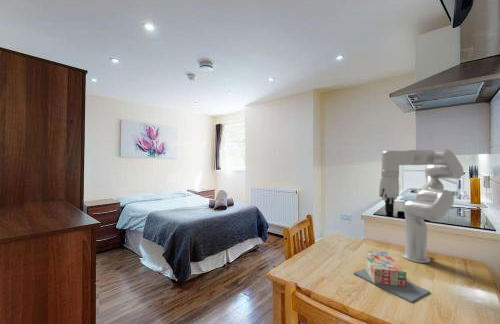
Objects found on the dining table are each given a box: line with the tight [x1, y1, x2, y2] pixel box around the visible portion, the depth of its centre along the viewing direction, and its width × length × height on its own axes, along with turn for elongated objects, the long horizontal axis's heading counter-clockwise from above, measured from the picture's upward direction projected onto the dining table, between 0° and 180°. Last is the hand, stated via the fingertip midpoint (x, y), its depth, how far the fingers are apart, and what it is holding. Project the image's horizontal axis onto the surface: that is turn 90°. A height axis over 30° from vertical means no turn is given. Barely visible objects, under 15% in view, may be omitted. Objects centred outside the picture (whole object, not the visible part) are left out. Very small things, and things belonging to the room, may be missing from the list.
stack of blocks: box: [364, 250, 407, 287], centre depth 105 cm, size 21×6×12 cm
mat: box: [353, 268, 431, 304], centre depth 98 cm, size 14×24×1 cm, turn 29°
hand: (389, 211), depth 115 cm, fingers closed
